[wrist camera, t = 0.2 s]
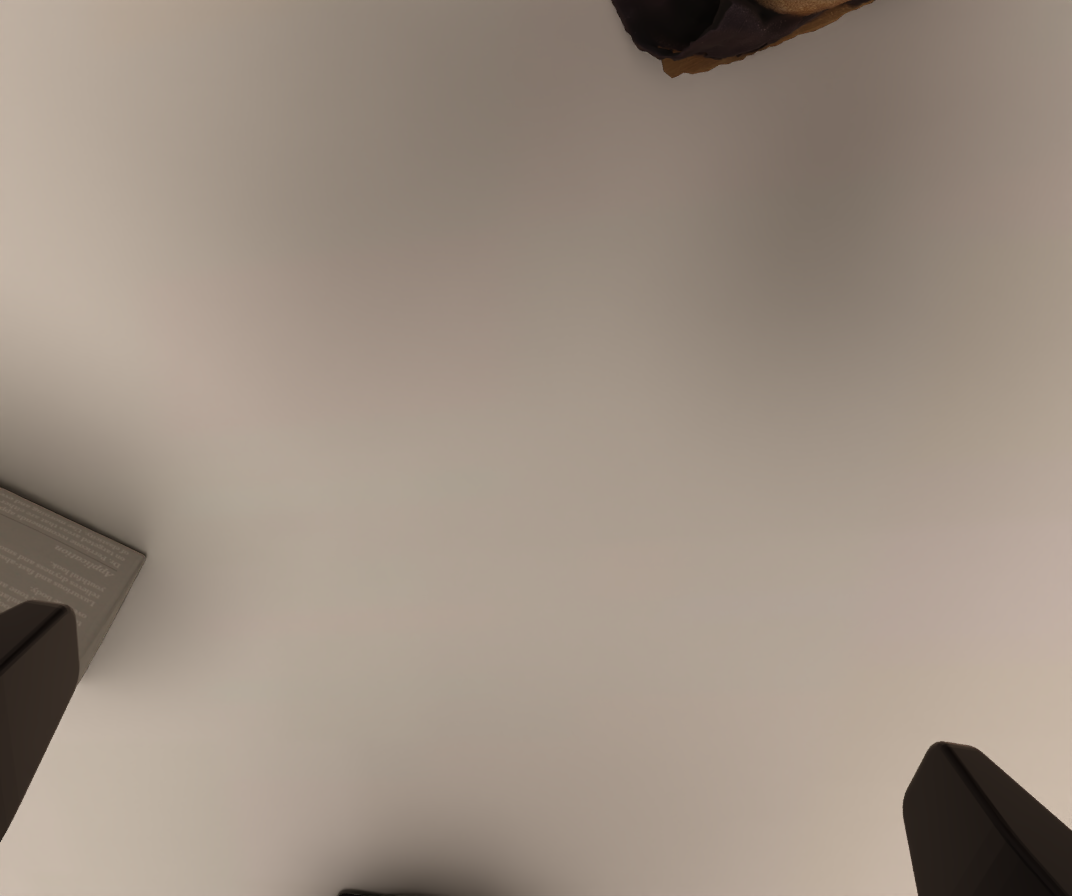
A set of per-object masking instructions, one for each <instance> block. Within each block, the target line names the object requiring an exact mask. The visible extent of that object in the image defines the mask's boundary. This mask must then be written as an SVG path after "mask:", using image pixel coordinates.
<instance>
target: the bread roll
mask: <svg viewBox="0 0 1072 896" xmlns="http://www.w3.org/2000/svg"><path fill="white" fill-rule="evenodd" d="M611 1H612V3H613V5H614V6H615V8H616V10H617V13H618V15H619V17H620V18H621V21H622V23H623V25H624V26H625V30H626V31H627V32H628V33H629V34H630V35H631V37H632V40H633V42H634V43H635V45H636V46H637V47H638V49H640V50H641V51H647V52H649V53H650V54H651V55H652V56H654V57H656V58H657V59H660V60H662V65H663V70H664V72H665V73H666V74H668V75H669V76H670V77H671V78H674V77H677V76H679V75H680V74H682V73H690V74H695V73H700V72H706V71H709V70H711V69H713V68H715V67H716V66H718V65H721V64H729V63H731V62H734V61H738V60H743V59H744V58H745V57H746V56H748V55H752V54H754V53H756V52H757V51H761V50H764V49H766V48H768V47H772V46H776V45H779V44H781V43H782V42H783V41H786V40H789V39H791V38H794V37H795V36H797V35H799V34H804V33H808V32H813V31H816V30H818V29H819V28H822V27H824V26H826V25H828V24H830V23H832V22H834V21H836V20H838V19H839V18H840V17H841V16H842V15H844V14H845V13H847V12H850V11H852V10H856V9H858V8H860V7H862V6H863V5H866V4H870V3H872V2H873V1H875V0H611Z"/></svg>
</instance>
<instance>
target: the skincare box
mask: <svg viewBox="0 0 1072 896" xmlns="http://www.w3.org/2000/svg"><path fill="white" fill-rule="evenodd" d="M145 559H146V557H145V556H144V555H143V554H141V553H139V552H137V551H135V550H133V549H130V548H128V547H126V546H124V545H122V544H120V543H118V542H116V541H114V540H111V539H109V538H107V537H105V536H103V535H101V534H99V533H97V532H94V531H92V530H90V529H88V528H86V527H84V526H82V525H80V524H78V523H75V522H73V521H71V520H69V519H67V518H65V517H63V516H61V515H59V514H56V513H54V512H52V511H50V510H48V509H46V508H44V507H42V506H39V505H37V504H35V503H33V502H31V501H29V500H27V499H24V498H22V497H20V496H18V495H16V494H14V493H12V492H10V491H8V490H6V489H4V488H1V487H0V613H1V612H3V611H5V610H7V609H10V608H12V607H14V606H16V605H18V604H20V603H22V602H24V601H27V600H43V601H49V602H56V603H62V604H67V605H69V606H70V607H72V608H73V610H74V612H75V615H76V621H77V634H78V647H79V660H80V672H79V678H78V682H77V685H78V683H79V681H80V680H81V678H82V677H83V675H84V673H85V671H86V670H87V668H88V666H89V664H90V662H91V661H92V659H93V657H94V655H95V653H96V652H97V650H98V648H99V646H100V644H101V643H102V641H103V639H104V637H105V635H106V633H107V631H108V629H109V627H110V626H111V624H112V622H113V620H114V618H115V616H116V614H117V612H118V610H119V608H120V607H121V605H122V603H123V601H124V599H125V597H126V595H127V593H128V591H129V589H130V588H131V586H132V584H133V582H134V580H135V578H136V576H137V574H138V573H139V571H140V569H141V567H142V565H143V563H144V561H145ZM77 685H76V686H77Z"/></svg>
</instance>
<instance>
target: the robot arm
mask: <svg viewBox="0 0 1072 896" xmlns="http://www.w3.org/2000/svg"><path fill="white" fill-rule="evenodd" d="M79 672H80V660H79V647H78V634H77V621H76V615H75V612H74V610H73V608H72V607H70V606H69V605H67V604H62V603H56V602H49V601H43V600H27V601H24V602H22V603H20V604H18V605H16V606H14V607H12V608H10V609H7V610H5V611H3V612H1V613H0V842H1V840H2V838H3V836H4V835H5V833H6V831H7V830H8V828H9V826H10V824H11V822H12V820H13V818H14V816H15V814H16V812H17V810H18V808H19V806H20V804H21V802H22V800H23V798H24V796H25V794H26V791H27V789H28V787H29V785H30V783H31V781H32V779H33V777H34V775H35V773H36V771H37V768H38V766H39V764H40V762H41V760H42V758H43V756H44V754H45V752H46V750H47V748H48V745H49V743H50V741H51V739H52V737H53V735H54V733H55V731H56V729H57V727H58V724H59V722H60V720H61V718H62V716H63V714H64V712H65V710H66V708H67V706H68V704H69V701H70V699H71V697H72V695H73V693H74V691H75V688H76V685H77V682H78V678H79ZM903 819H904V824H905V829H906V835H907V840H908V845H909V850H910V856H911V861H912V866H913V871H914V877H915V882H916V887H917V892H918V896H1072V830H1071V829H1069V828H1068V827H1067V826H1066V825H1065V824H1064V823H1062V822H1061V821H1060V820H1059V819H1058V818H1057V817H1056V816H1054V815H1053V814H1052V813H1051V812H1050V811H1049V810H1048V809H1046V808H1045V807H1044V806H1043V805H1042V804H1041V803H1040V802H1038V801H1037V800H1036V799H1035V798H1034V797H1033V796H1032V795H1030V794H1029V793H1028V792H1027V791H1026V790H1025V789H1024V788H1022V787H1021V786H1020V785H1019V784H1018V783H1017V782H1016V781H1014V780H1013V779H1012V778H1011V777H1010V776H1009V775H1007V774H1006V773H1005V772H1004V771H1003V770H1002V769H1001V768H999V767H998V766H997V765H996V764H995V763H994V762H993V761H991V760H990V759H989V758H988V757H987V756H986V755H985V754H983V753H982V752H981V751H980V750H978V749H977V748H975V747H972V746H969V745H963V744H957V743H950V742H944V741H940V742H936V743H934V744H933V745H931V746H930V748H929V749H928V751H927V752H926V754H925V756H924V758H923V760H922V762H921V764H920V766H919V767H918V769H917V771H916V773H915V775H914V777H913V779H912V781H911V783H910V784H909V786H908V788H907V790H906V793H905V796H904V800H903ZM339 896H361V895H354V894H342V895H339Z"/></svg>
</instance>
